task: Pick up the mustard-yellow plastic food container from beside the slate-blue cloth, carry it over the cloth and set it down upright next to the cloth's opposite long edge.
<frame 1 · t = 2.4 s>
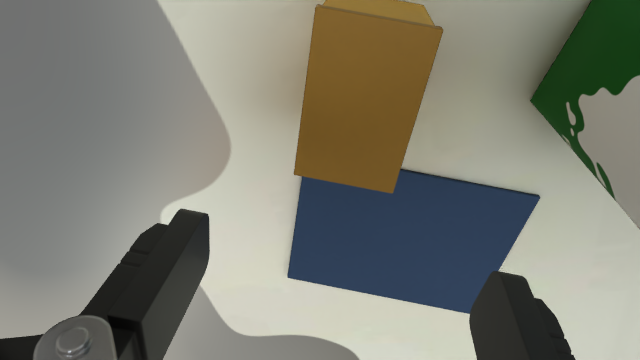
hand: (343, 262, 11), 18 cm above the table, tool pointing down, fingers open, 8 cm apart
cloth: (398, 240, 34), on the table
container: (363, 69, 26), on the table
milk carton: (611, 65, 25), on the table
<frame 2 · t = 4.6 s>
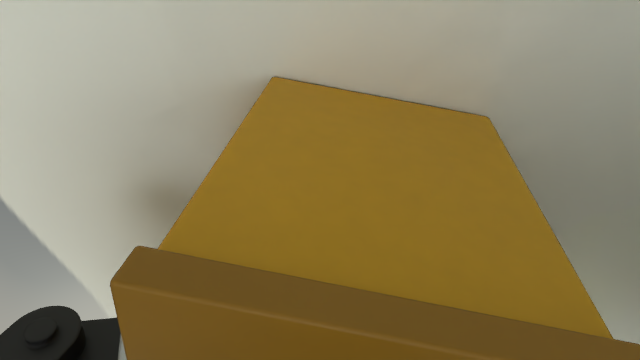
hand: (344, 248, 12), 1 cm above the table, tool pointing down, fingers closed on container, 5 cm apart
container: (347, 228, 13), on the table, touching gripper
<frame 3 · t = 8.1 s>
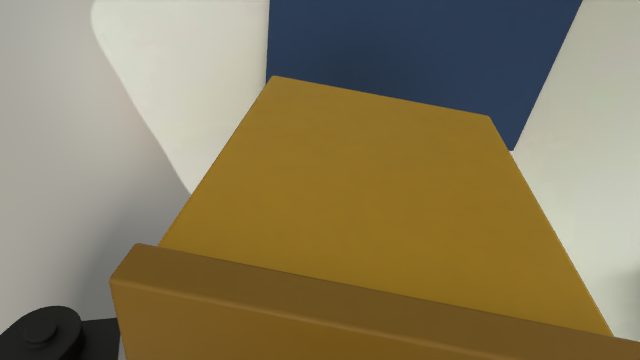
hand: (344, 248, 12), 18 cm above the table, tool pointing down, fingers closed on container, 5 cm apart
cloth: (412, 27, 25), on the table
container: (347, 227, 12), point 17 cm above the table, touching gripper
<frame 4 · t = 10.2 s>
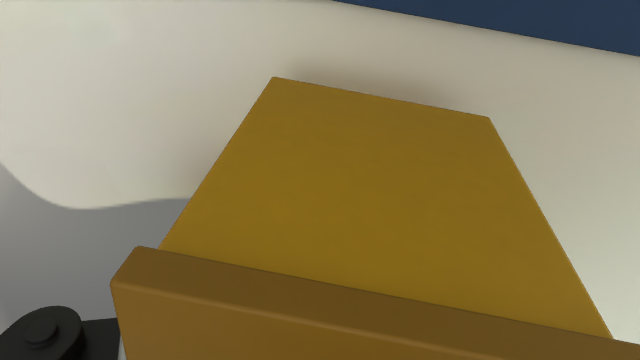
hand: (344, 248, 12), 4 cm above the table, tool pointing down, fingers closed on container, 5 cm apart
container: (347, 228, 13), point 4 cm above the table, touching gripper
when the fingers open (1 cm above the table, at t = 11.7 s): container stays where it is, on the table.
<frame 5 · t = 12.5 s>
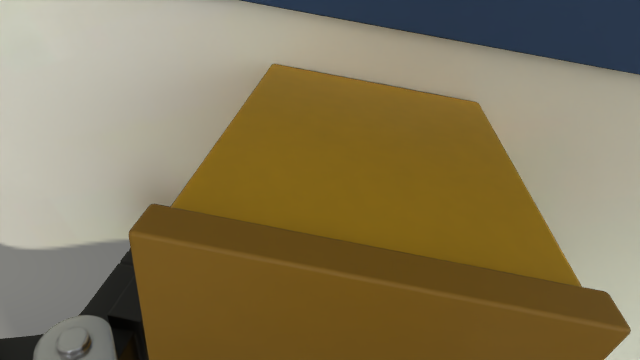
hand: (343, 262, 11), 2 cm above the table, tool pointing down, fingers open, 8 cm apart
container: (344, 212, 13), on the table
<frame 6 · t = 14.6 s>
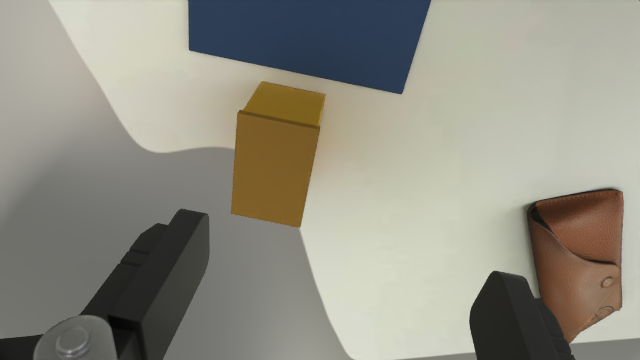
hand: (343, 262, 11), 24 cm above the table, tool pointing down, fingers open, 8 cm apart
container: (286, 133, 36), on the table
sunglasses case: (574, 259, 41), on the table
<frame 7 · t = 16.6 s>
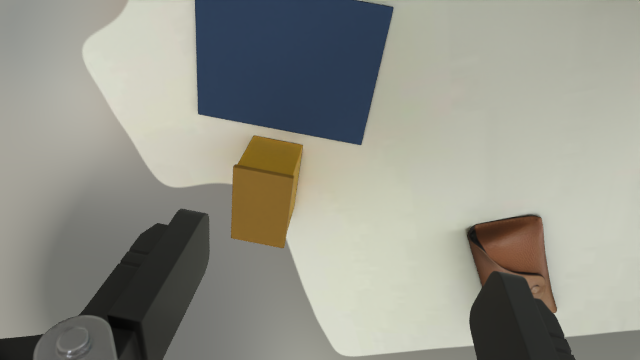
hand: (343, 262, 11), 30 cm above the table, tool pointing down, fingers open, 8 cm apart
cloth: (286, 65, 39), on the table
container: (274, 173, 46), on the table
sunglasses case: (513, 270, 50), on the table
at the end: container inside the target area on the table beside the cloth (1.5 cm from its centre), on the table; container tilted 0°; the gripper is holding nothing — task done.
